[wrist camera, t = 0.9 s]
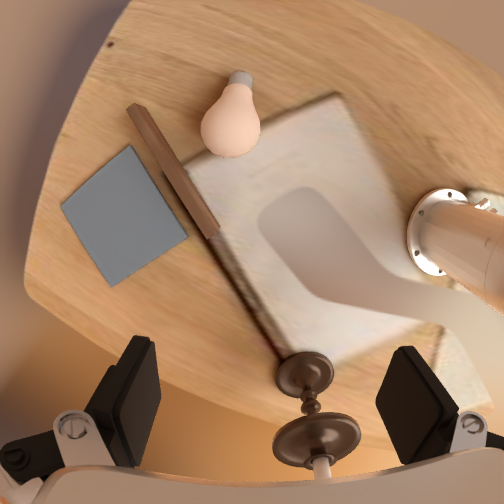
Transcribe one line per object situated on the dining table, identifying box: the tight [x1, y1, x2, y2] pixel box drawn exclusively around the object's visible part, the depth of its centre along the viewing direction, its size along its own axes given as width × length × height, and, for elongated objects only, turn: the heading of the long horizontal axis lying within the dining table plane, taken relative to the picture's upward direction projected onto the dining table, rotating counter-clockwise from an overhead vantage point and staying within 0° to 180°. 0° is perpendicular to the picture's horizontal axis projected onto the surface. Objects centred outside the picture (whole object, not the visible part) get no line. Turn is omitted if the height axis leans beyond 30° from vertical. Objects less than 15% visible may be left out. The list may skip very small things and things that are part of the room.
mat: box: [60, 145, 189, 288], centre depth 37 cm, size 14×14×1 cm
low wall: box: [126, 103, 220, 239], centre depth 33 cm, size 1×18×4 cm, turn 32°
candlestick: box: [272, 352, 361, 480], centre depth 27 cm, size 11×11×35 cm
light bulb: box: [201, 71, 260, 158], centre depth 31 cm, size 7×7×11 cm
